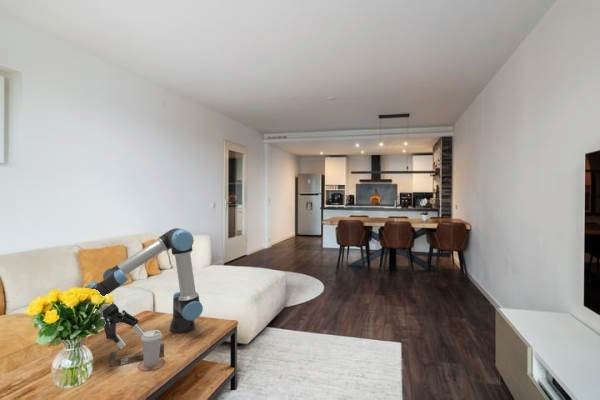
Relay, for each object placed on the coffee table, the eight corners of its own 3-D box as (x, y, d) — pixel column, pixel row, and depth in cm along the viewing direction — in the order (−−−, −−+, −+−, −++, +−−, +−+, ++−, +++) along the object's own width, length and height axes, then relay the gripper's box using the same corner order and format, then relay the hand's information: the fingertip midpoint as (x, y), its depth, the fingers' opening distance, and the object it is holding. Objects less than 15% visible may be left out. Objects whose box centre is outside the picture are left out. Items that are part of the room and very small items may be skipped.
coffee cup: (153, 369, 153) (154, 338, 154) (135, 367, 155) (136, 336, 156) (165, 360, 163) (166, 330, 163) (149, 358, 165) (149, 328, 165)
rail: (163, 354, 170) (163, 343, 170) (166, 367, 157) (166, 355, 157) (110, 364, 159) (110, 352, 159) (108, 379, 146) (108, 366, 146)
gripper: (120, 305, 177) (144, 335, 174) (82, 322, 152) (109, 357, 150) (129, 296, 176) (153, 326, 173) (92, 311, 151) (119, 346, 149)
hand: (133, 340), depth 161 cm, fingers open, 13 cm apart
